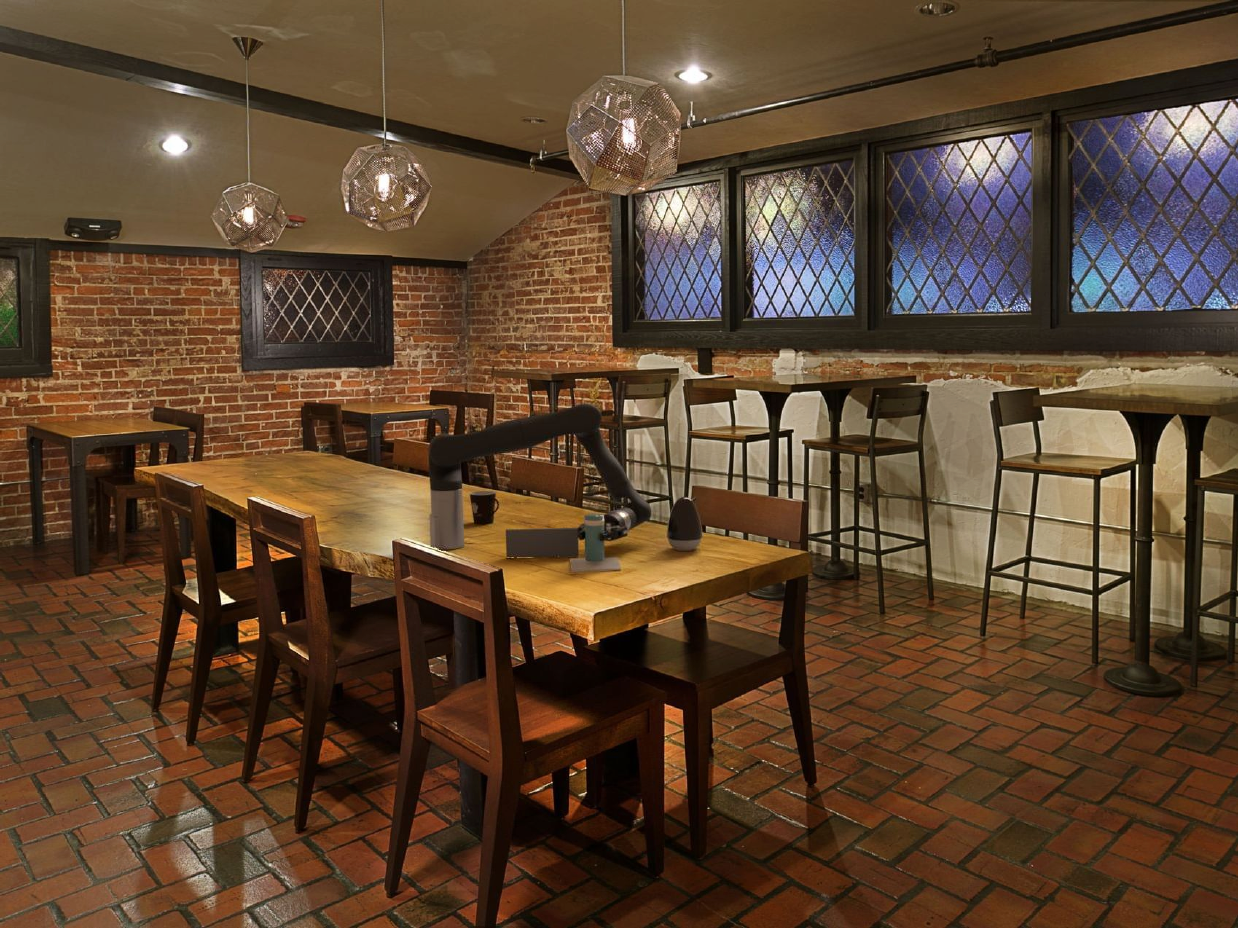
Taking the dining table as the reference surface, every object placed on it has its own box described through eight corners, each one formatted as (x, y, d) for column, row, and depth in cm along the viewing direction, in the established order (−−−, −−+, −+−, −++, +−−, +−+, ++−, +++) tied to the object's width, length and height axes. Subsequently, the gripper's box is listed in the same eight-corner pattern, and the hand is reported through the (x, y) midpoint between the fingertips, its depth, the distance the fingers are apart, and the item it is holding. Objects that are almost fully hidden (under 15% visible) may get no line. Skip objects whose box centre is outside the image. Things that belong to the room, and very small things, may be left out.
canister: (589, 562, 262) (588, 517, 261) (581, 558, 267) (580, 514, 266) (608, 560, 264) (607, 516, 263) (600, 556, 269) (599, 512, 268)
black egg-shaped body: (710, 548, 285) (709, 496, 283) (687, 554, 278) (687, 501, 276) (682, 543, 292) (681, 492, 290) (659, 549, 284) (659, 497, 282)
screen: (506, 558, 275) (505, 530, 274) (506, 557, 277) (505, 529, 276) (578, 556, 277) (578, 528, 276) (578, 555, 278) (577, 527, 277)
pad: (571, 572, 259) (571, 569, 259) (570, 560, 272) (570, 558, 272) (621, 570, 260) (621, 568, 260) (617, 559, 273) (617, 557, 273)
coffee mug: (468, 521, 331) (467, 491, 330) (493, 519, 334) (492, 490, 333) (475, 527, 321) (474, 497, 319) (501, 525, 324) (500, 495, 322)
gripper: (589, 510, 280) (565, 521, 264) (637, 513, 275) (615, 524, 259) (590, 536, 281) (565, 549, 265) (637, 539, 276) (616, 552, 260)
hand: (590, 536), depth 262 cm, fingers open, 5 cm apart
